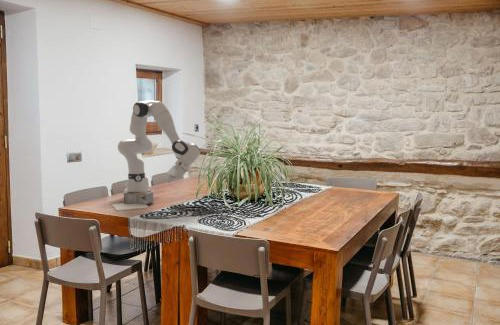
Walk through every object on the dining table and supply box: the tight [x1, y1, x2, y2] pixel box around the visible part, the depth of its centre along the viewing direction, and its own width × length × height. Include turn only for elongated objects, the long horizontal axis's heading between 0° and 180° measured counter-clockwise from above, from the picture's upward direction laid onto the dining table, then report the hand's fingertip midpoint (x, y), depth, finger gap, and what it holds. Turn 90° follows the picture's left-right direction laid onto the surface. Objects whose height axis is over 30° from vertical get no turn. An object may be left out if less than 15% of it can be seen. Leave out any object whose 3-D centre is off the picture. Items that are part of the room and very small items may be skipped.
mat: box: [111, 202, 149, 212], centre depth 292 cm, size 20×19×1 cm
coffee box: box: [123, 191, 154, 205], centre depth 300 cm, size 9×6×16 cm
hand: (167, 181), depth 300 cm, fingers closed
